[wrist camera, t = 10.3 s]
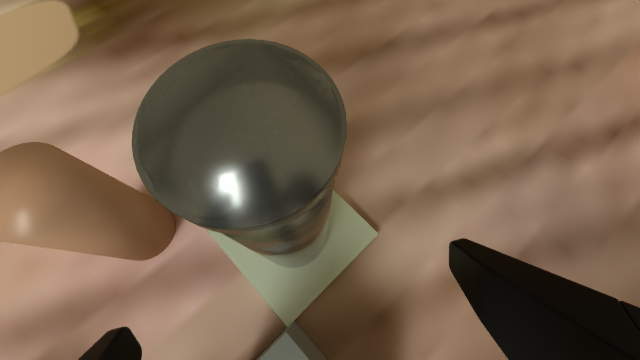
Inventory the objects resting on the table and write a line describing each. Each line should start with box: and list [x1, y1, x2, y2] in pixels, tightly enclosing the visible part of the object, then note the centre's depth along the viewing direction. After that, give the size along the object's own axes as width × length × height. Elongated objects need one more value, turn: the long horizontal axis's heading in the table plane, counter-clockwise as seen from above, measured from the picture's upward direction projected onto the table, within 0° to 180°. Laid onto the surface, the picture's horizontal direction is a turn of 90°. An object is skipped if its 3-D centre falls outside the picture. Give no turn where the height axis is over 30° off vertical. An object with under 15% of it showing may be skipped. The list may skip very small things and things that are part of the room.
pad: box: [207, 190, 378, 327], centre depth 20 cm, size 8×8×1 cm
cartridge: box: [132, 39, 347, 268], centre depth 13 cm, size 5×5×14 cm
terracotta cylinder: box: [0, 142, 175, 261], centre depth 16 cm, size 4×4×9 cm
